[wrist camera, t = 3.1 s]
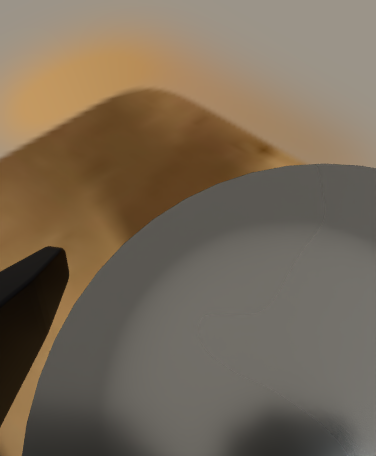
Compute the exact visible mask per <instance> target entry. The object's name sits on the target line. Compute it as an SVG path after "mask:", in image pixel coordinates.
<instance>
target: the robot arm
mask: <svg viewBox="0 0 376 456" xmlns="http://www.w3.org/2000/svg"><path fill="white" fill-rule="evenodd" d="M68 279H69V269H68V263H67V258H66V253H65V250H64V249H63V248H59V247H51V246H48V247H45V248H43V249H41V250H39V251H37V252H36V253H34V254H32V255H30V256H28V257H26V258H25V259H23V260H21V261H19V262H17V263H15V264H14V265H12V266H10V267H8V268H6V269H4V270H3V271H1V272H0V427H1V425H2V423H3V421H4V419H5V417H6V415H7V413H8V411H9V409H10V407H11V405H12V403H13V401H14V399H15V397H16V395H17V393H18V392H19V390H20V388H21V386H22V384H23V382H24V380H25V378H26V376H27V374H28V372H29V370H30V368H31V366H32V364H33V362H34V360H35V358H36V356H37V354H38V352H39V351H40V349H41V347H42V345H43V343H44V341H45V339H46V336H47V334H48V332H49V330H50V327H51V325H52V322H53V319H54V317H55V314H56V311H57V309H58V306H59V304H60V301H61V298H62V296H63V293H64V290H65V288H66V285H67V282H68Z"/></svg>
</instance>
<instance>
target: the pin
mask: <svg viewBox="0 0 376 456" xmlns="http://www.w3.org/2000/svg"><path fill="white" fill-rule="evenodd" d="M22 456H376V168H370V167H364V166H355V165H338V164H311V165H295V166H285V167H280V168H274V169H269V170H264V171H258V172H253V173H250V174H246V175H243V176H240V177H237V178H234V179H231V180H228V181H225V182H222V183H219V184H216V185H214V186H212V187H210V188H208V189H206V190H203V191H201V192H199V193H197V194H195V195H193V196H191V197H189V198H186V199H184V200H183V201H181V202H180V203H178V204H176V205H175V206H173V207H172V208H170V209H169V210H167V211H166V212H164V213H162V214H161V215H159V216H158V217H156V218H155V219H153V220H152V221H151V222H149V223H148V224H147V225H146V226H145V227H143V228H142V229H141V230H140V231H139V232H137V233H136V234H135V235H134V236H133V237H131V238H130V239H129V240H128V241H127V242H125V243H124V244H123V245H122V246H121V248H120V249H119V250H118V251H117V252H116V253H115V254H114V255H113V256H112V257H111V258H110V259H109V260H108V261H107V263H106V264H105V265H104V266H103V267H102V268H101V269H100V270H99V271H98V272H97V274H96V275H95V277H94V278H93V279H92V281H91V282H90V283H89V285H88V286H87V288H86V289H85V290H84V292H83V293H82V294H81V296H80V297H79V299H78V300H77V301H76V303H75V304H74V306H73V308H72V310H71V311H70V313H69V315H68V317H67V319H66V321H65V322H64V324H63V326H62V328H61V330H60V331H59V333H58V335H57V337H56V339H55V341H54V343H53V346H52V348H51V351H50V353H49V356H48V358H47V360H46V363H45V365H44V368H43V370H42V373H41V375H40V378H39V381H38V384H37V388H36V392H35V395H34V399H33V403H32V406H31V410H30V414H29V417H28V421H27V426H26V433H25V439H24V446H23V453H22Z"/></svg>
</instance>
